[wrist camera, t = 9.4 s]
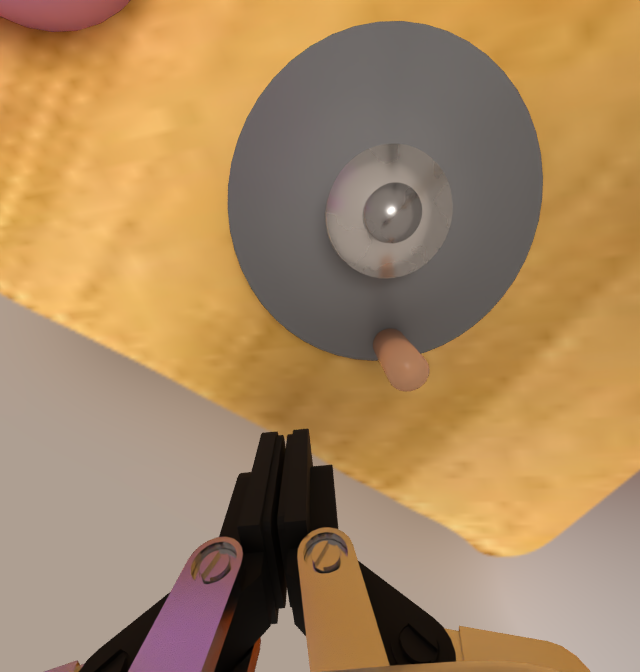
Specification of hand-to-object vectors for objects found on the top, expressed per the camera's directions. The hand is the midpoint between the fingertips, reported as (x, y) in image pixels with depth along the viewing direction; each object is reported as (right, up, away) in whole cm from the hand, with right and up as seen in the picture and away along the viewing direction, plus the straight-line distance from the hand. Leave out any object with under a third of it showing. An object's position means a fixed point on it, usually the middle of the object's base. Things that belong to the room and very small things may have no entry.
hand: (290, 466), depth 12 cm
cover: (+5, +12, +9) cm, 16 cm away
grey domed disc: (+5, +13, +11) cm, 18 cm away
